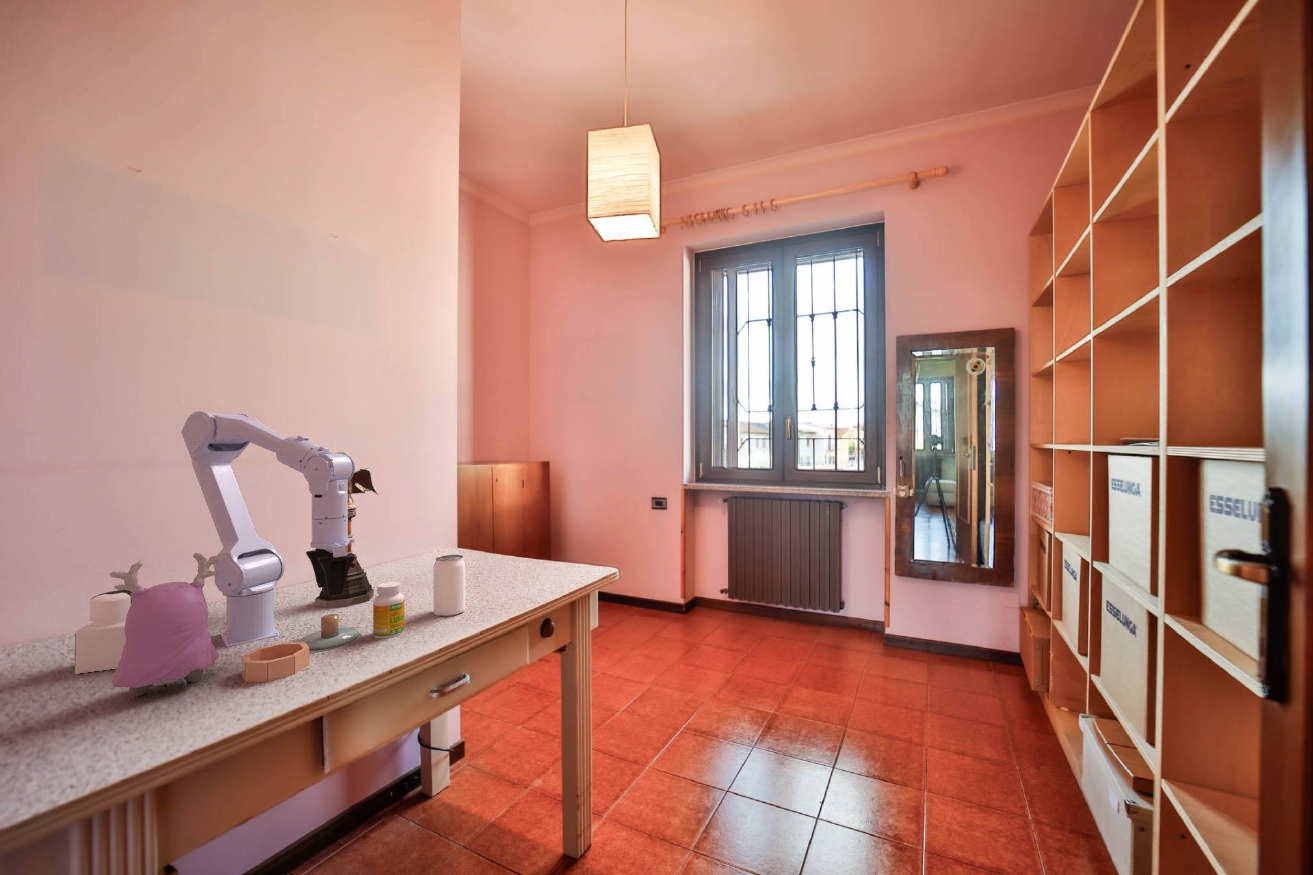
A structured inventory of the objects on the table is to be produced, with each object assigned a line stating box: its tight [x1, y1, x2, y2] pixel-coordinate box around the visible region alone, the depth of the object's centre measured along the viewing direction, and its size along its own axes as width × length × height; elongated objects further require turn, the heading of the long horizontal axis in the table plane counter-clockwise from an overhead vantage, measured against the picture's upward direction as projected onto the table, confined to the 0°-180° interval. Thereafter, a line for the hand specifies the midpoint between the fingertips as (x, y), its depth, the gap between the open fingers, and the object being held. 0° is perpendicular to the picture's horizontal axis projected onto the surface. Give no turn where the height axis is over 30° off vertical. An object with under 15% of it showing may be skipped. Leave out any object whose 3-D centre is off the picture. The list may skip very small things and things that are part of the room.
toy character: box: [109, 552, 220, 698], centre depth 79 cm, size 12×10×20 cm
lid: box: [300, 613, 359, 650], centre depth 97 cm, size 9×9×4 cm
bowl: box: [241, 641, 310, 683], centre depth 84 cm, size 8×8×3 cm
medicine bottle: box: [74, 590, 132, 675], centre depth 88 cm, size 7×7×12 cm
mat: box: [291, 626, 368, 656], centre depth 97 cm, size 10×10×1 cm
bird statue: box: [314, 467, 379, 609], centre depth 126 cm, size 17×13×35 cm
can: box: [432, 554, 466, 618], centre depth 114 cm, size 6×6×12 cm
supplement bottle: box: [372, 581, 406, 639], centre depth 100 cm, size 5×5×10 cm
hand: (330, 590), depth 97 cm, fingers open, 7 cm apart
